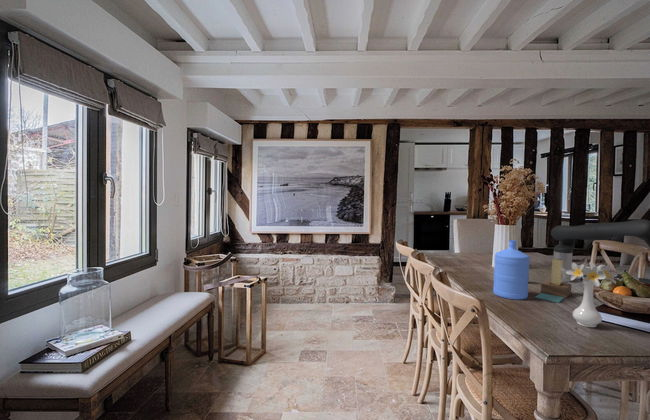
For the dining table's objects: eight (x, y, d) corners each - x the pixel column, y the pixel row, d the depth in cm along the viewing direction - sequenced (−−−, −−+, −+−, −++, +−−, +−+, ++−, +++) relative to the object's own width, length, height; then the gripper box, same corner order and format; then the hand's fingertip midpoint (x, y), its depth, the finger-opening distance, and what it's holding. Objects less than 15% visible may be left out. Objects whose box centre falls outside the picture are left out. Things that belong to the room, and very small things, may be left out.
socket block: (546, 289, 187) (547, 280, 187) (570, 293, 179) (571, 284, 179) (540, 293, 180) (541, 283, 179) (565, 298, 172) (566, 288, 171)
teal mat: (541, 294, 178) (541, 292, 178) (564, 298, 171) (564, 297, 171) (535, 297, 171) (535, 296, 171) (558, 302, 164) (559, 301, 164)
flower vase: (554, 315, 147) (557, 257, 145) (608, 323, 139) (612, 261, 138) (560, 326, 135) (563, 263, 133) (620, 335, 127) (624, 268, 126)
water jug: (533, 301, 166) (535, 243, 164) (497, 298, 169) (500, 242, 168) (521, 292, 181) (523, 239, 180) (489, 289, 184) (491, 238, 183)
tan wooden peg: (552, 292, 182) (554, 258, 181) (561, 293, 179) (563, 259, 178) (550, 293, 180) (552, 259, 179) (559, 295, 177) (561, 260, 176)
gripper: (627, 273, 164) (585, 267, 176) (624, 277, 154) (580, 271, 166) (626, 288, 165) (585, 281, 176) (623, 294, 155) (579, 286, 166)
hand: (582, 276), depth 171 cm, fingers open, 8 cm apart
